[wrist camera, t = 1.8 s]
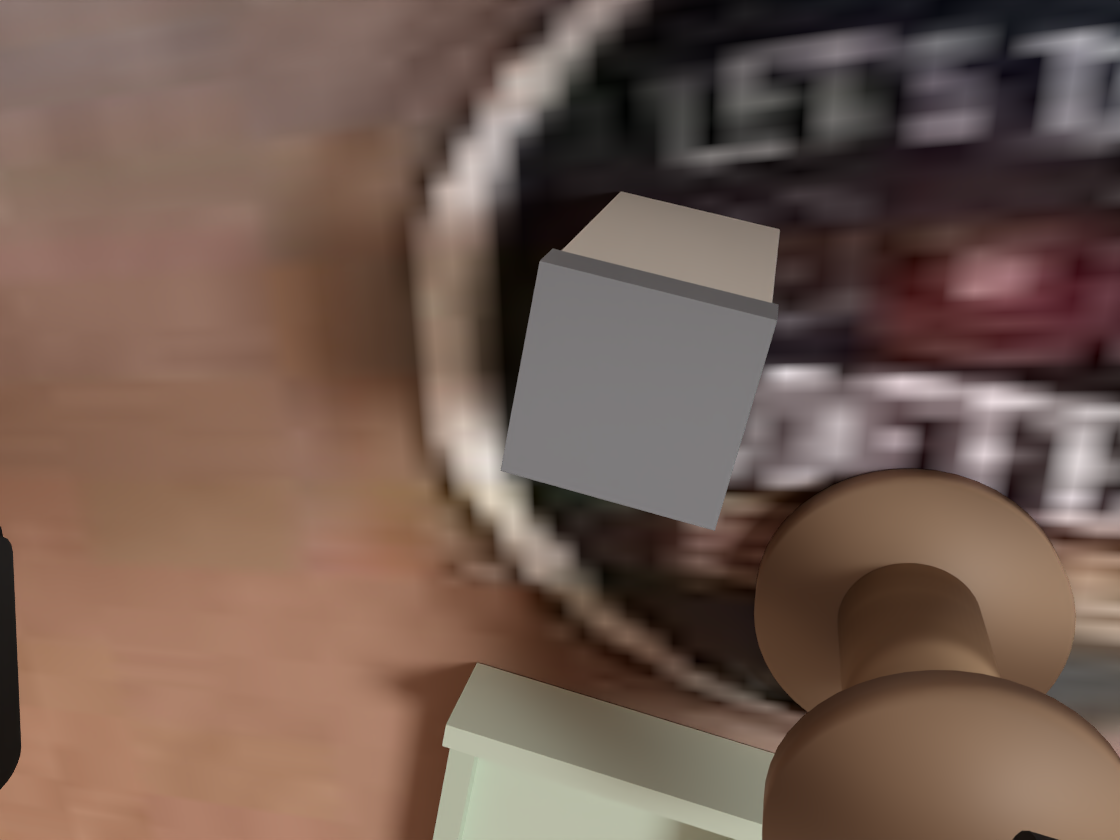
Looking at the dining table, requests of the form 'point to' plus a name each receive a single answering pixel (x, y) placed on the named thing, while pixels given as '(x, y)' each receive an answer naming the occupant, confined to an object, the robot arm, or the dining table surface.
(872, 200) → the dining table surface
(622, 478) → the white grey rectangular block
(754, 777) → the open tray
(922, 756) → the knob
